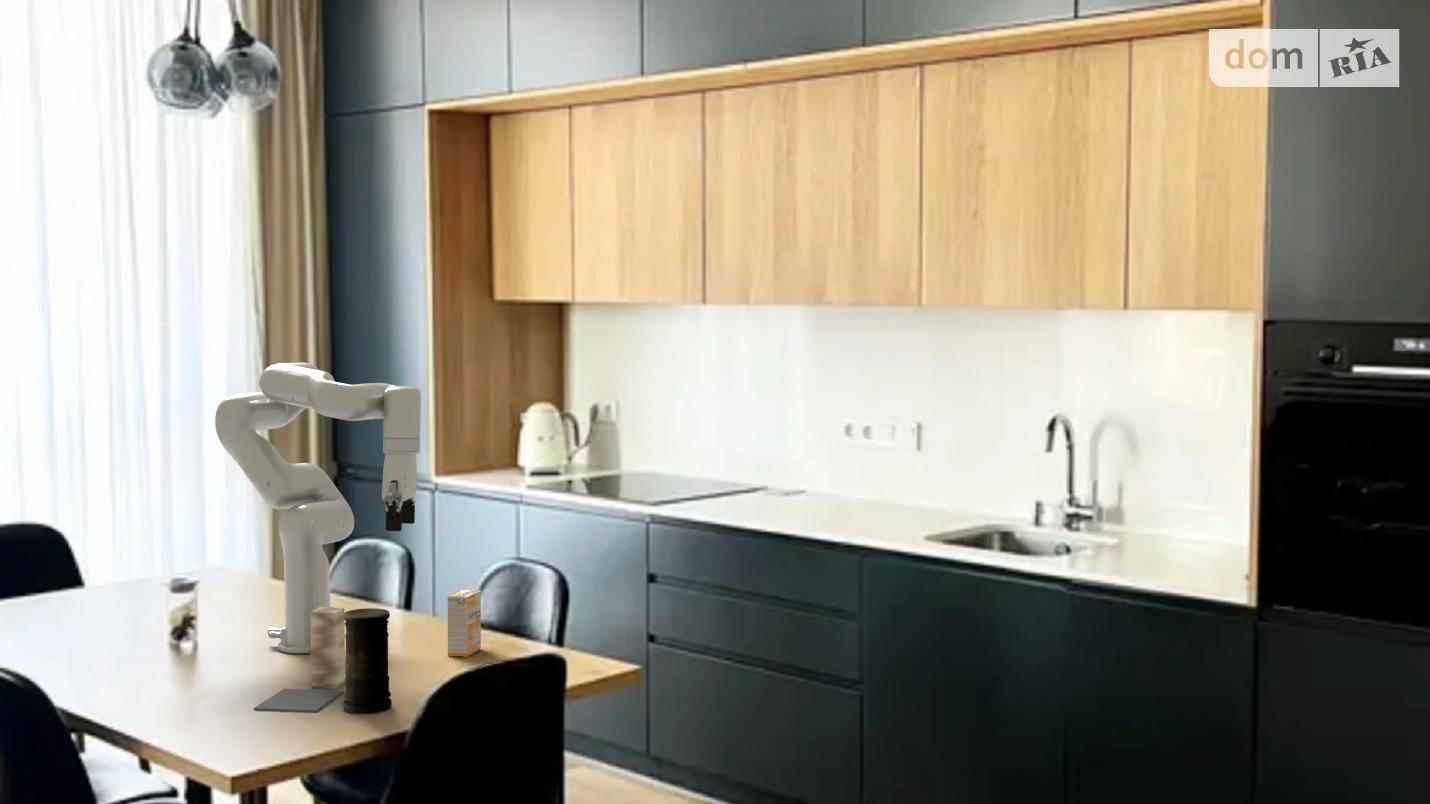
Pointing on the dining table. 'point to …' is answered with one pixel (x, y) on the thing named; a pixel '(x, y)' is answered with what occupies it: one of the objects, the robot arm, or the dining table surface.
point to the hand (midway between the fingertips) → (400, 527)
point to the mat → (299, 700)
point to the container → (366, 661)
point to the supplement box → (464, 622)
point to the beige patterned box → (327, 647)
